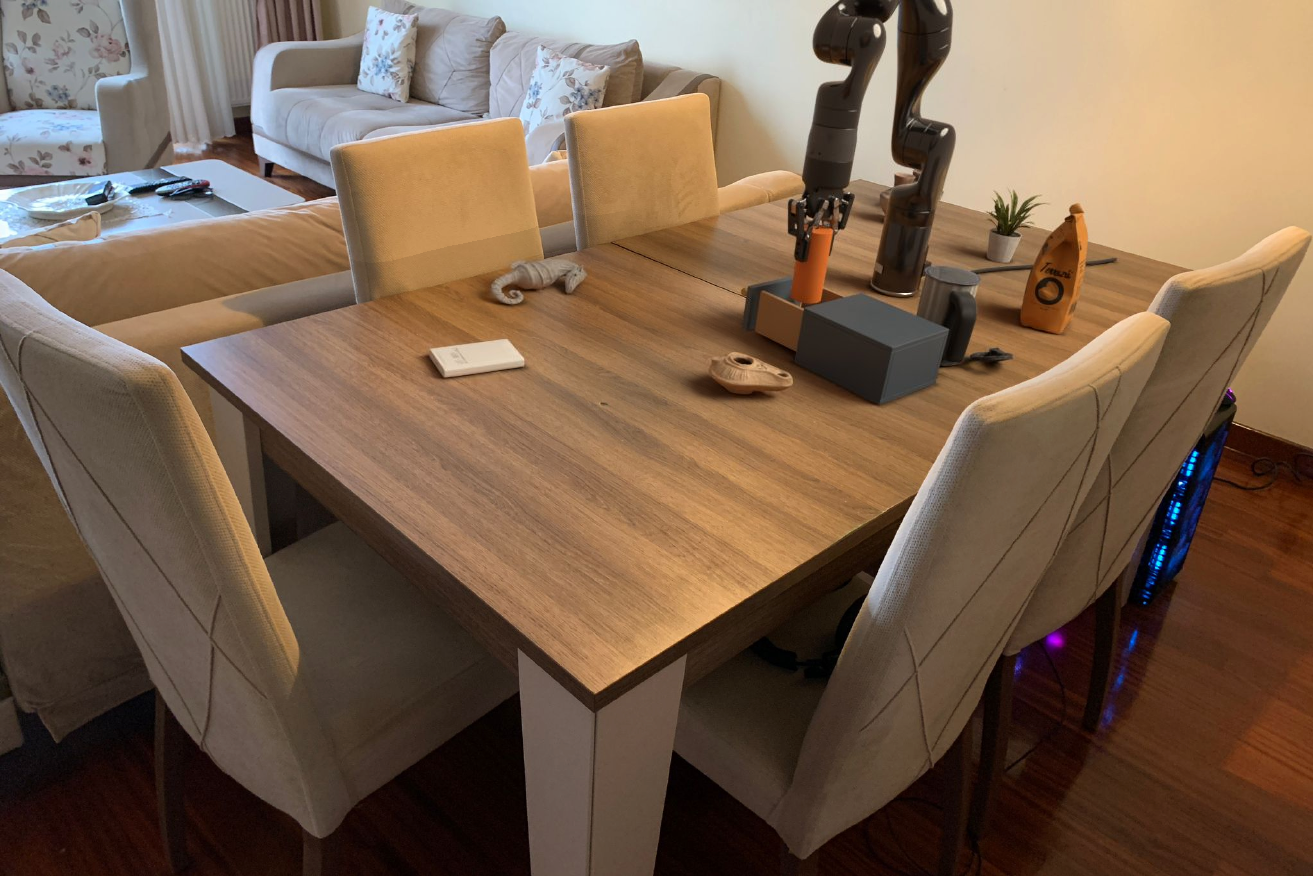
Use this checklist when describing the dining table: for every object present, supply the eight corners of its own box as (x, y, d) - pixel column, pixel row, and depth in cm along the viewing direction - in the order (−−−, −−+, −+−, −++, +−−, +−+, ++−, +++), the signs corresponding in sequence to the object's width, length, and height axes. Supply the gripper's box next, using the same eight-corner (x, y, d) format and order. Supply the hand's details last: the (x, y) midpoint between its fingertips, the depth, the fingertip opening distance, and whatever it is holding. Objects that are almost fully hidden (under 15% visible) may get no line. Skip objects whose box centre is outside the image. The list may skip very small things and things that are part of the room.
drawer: (724, 319, 162) (729, 277, 158) (776, 306, 169) (782, 266, 166) (812, 364, 148) (820, 319, 144) (864, 347, 156) (873, 304, 152)
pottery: (866, 221, 230) (876, 173, 224) (904, 204, 248) (913, 159, 242) (909, 231, 224) (920, 183, 219) (944, 213, 243) (955, 168, 237)
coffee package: (1009, 324, 174) (1043, 210, 164) (1022, 306, 184) (1054, 197, 173) (1063, 338, 170) (1102, 222, 160) (1073, 319, 180) (1110, 208, 169)
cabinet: (794, 362, 150) (803, 307, 146) (850, 344, 159) (861, 292, 154) (879, 405, 139) (892, 347, 134) (935, 383, 148) (949, 329, 143)
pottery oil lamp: (786, 409, 134) (772, 373, 130) (713, 411, 140) (697, 377, 136) (801, 369, 140) (788, 333, 135) (730, 373, 146) (715, 339, 142)
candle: (804, 290, 158) (816, 217, 152) (827, 300, 155) (840, 226, 148) (783, 295, 155) (795, 221, 149) (806, 305, 152) (819, 230, 145)
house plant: (1042, 260, 213) (1063, 190, 205) (1029, 274, 203) (1051, 201, 195) (981, 245, 219) (1000, 177, 211) (965, 259, 209) (984, 187, 201)
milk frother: (894, 347, 160) (913, 265, 152) (965, 339, 166) (986, 260, 158) (946, 382, 148) (970, 296, 141) (1020, 373, 155) (1046, 290, 147)
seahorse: (526, 308, 158) (598, 266, 171) (478, 271, 160) (552, 233, 173) (521, 330, 161) (591, 287, 174) (474, 293, 164) (546, 254, 177)
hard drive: (524, 368, 140) (444, 379, 134) (506, 347, 146) (429, 356, 140) (524, 358, 139) (444, 369, 134) (506, 337, 145) (428, 346, 140)
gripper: (817, 163, 136) (799, 272, 145) (877, 155, 145) (857, 258, 153) (781, 152, 141) (765, 258, 150) (841, 144, 149) (823, 245, 158)
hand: (812, 257), depth 151 cm, fingers closed on candle, 5 cm apart
